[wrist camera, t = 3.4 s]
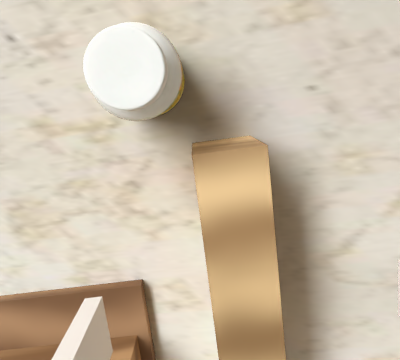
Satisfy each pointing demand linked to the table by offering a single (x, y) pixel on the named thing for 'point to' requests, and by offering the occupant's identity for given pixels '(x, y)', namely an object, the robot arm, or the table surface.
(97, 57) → the supplement bottle
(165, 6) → the table surface
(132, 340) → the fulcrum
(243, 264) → the plank
